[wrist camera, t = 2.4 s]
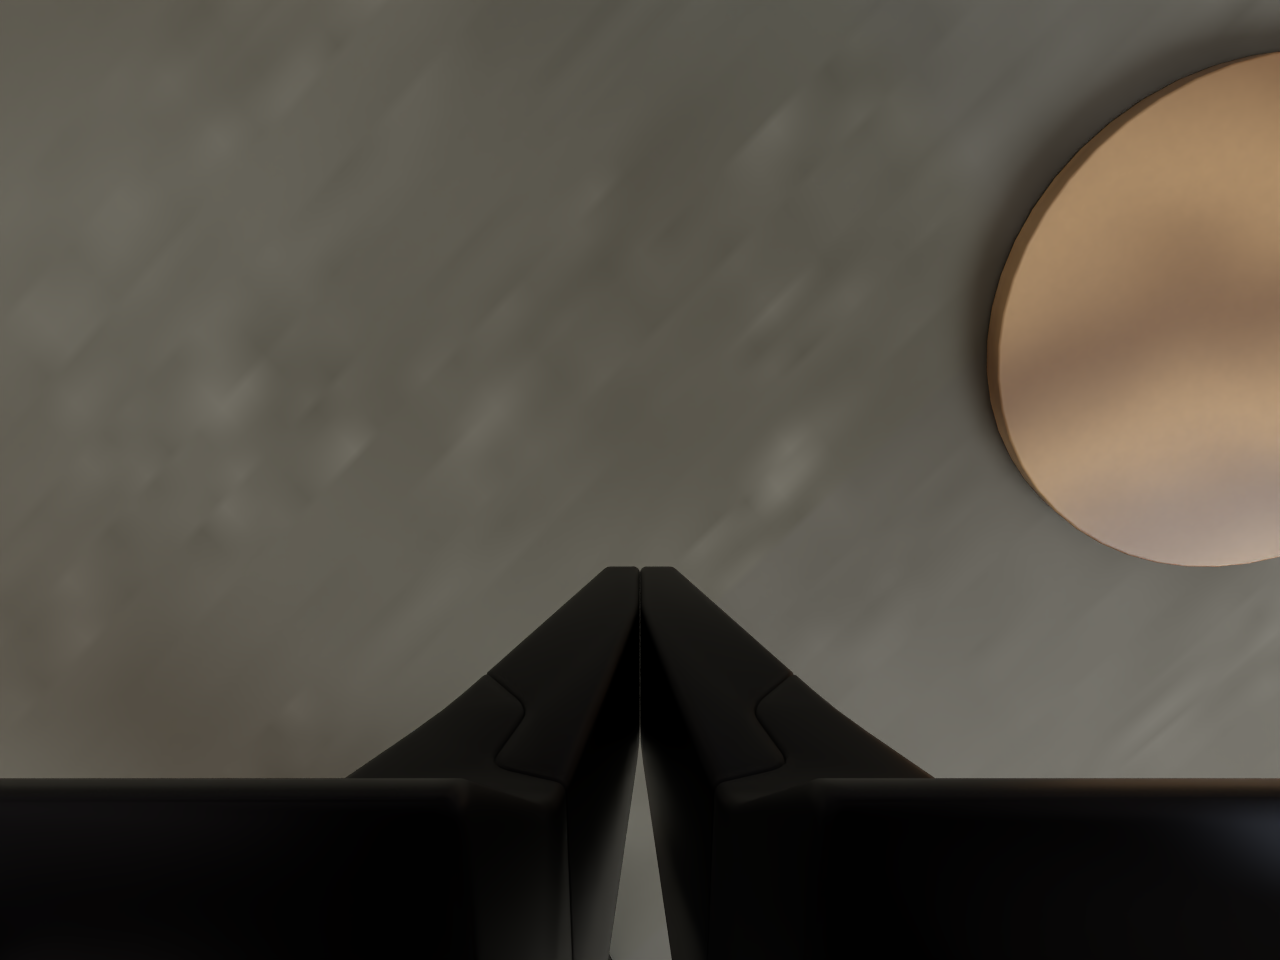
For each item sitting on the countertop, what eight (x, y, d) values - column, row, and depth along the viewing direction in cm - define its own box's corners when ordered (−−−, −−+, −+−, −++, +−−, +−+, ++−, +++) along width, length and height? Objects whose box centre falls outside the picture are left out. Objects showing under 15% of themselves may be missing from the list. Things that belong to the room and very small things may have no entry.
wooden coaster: (1505, 477, 23) (1534, 488, 22) (1031, 607, 24) (1043, 621, 24) (1505, -33, 19) (1539, -40, 18) (940, 157, 20) (951, 157, 20)
